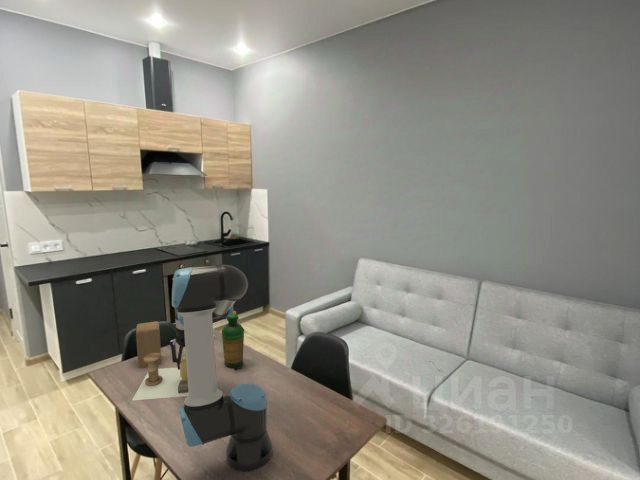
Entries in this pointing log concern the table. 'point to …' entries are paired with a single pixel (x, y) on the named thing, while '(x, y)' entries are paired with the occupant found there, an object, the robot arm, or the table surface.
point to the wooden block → (147, 341)
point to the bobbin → (153, 369)
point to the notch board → (183, 386)
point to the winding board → (161, 386)
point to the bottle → (233, 342)
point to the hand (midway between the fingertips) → (187, 375)
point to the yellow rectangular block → (184, 369)
